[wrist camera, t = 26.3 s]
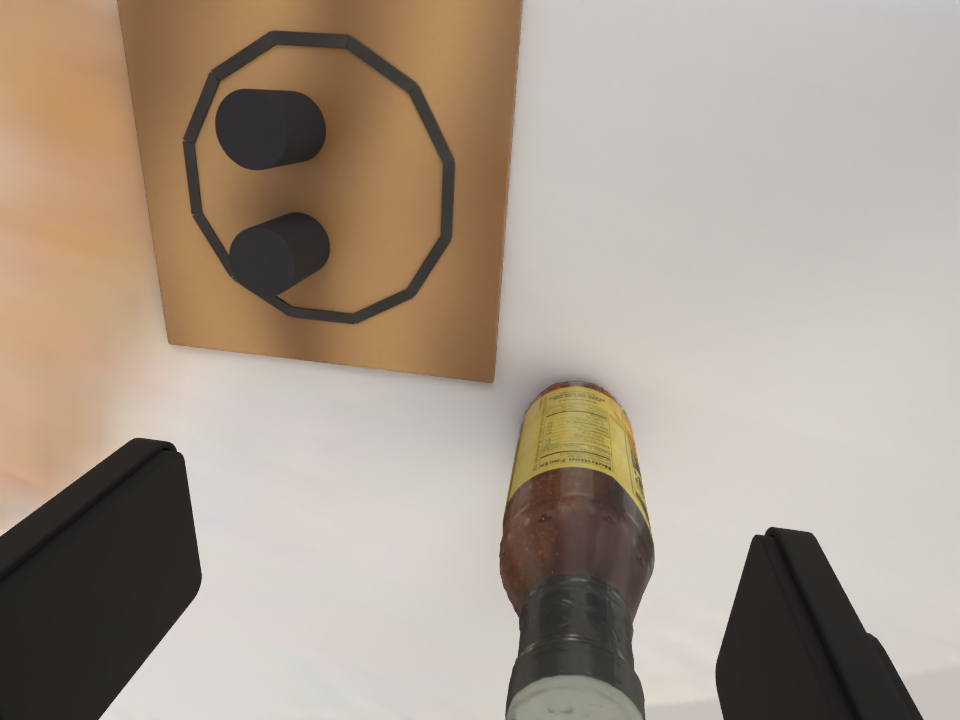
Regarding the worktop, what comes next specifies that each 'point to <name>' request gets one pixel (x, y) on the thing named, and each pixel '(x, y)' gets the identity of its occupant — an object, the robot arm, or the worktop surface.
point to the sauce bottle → (575, 558)
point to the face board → (335, 174)
